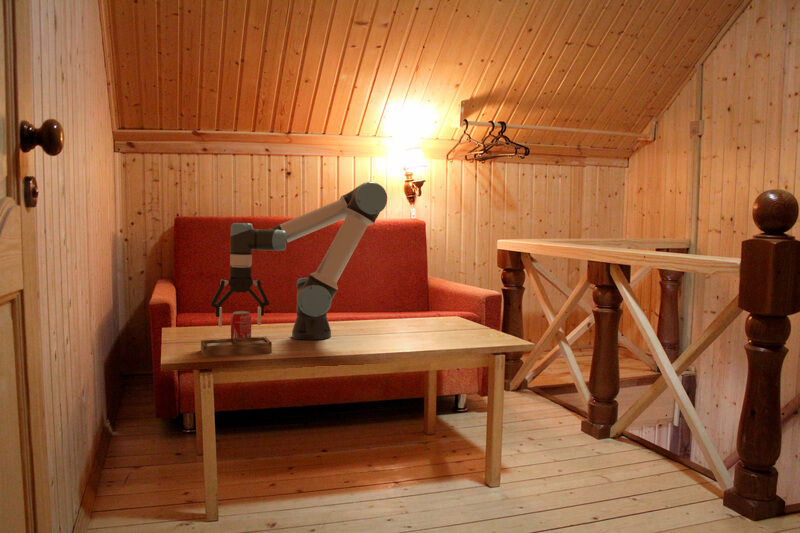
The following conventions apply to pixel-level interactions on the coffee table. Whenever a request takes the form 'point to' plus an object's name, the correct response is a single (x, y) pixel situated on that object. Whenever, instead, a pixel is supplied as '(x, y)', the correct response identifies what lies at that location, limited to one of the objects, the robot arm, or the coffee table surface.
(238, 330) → the soda can
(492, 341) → the coffee table surface
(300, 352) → the coffee table surface
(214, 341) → the wooden tray
